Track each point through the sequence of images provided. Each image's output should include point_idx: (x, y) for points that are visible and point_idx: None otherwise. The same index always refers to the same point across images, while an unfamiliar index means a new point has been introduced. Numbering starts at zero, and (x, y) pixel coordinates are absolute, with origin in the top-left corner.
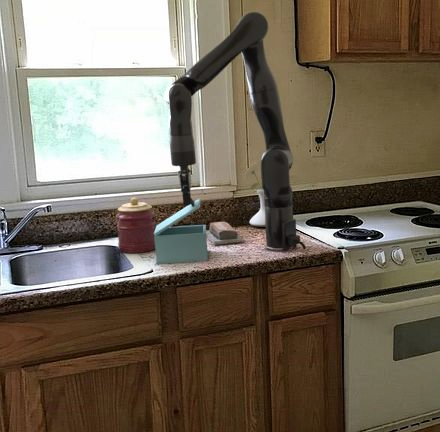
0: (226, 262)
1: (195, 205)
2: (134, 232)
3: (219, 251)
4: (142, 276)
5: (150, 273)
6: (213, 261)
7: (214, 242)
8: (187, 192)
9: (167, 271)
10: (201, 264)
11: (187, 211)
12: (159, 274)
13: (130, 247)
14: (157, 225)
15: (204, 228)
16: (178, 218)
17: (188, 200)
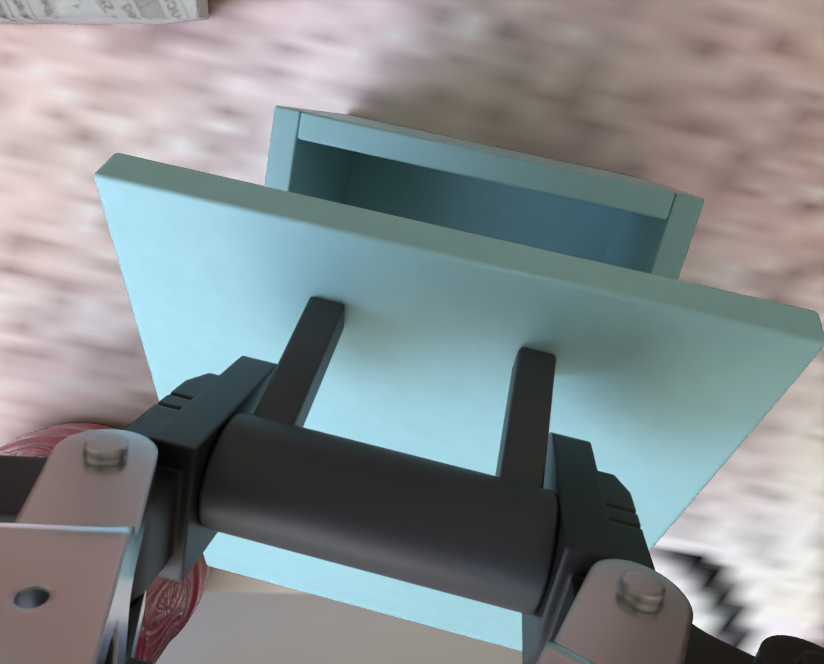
0: (784, 44)
1: (580, 344)
2: (146, 658)
3: (406, 22)
4: (781, 626)
5: (742, 577)
6: (690, 139)
7: (202, 17)
8: (709, 649)
9: (761, 483)
10: (722, 243)
11: (622, 455)
12: (802, 538)
13: (193, 610)
14: (234, 569)
15: (459, 160)
16: (653, 543)
17: (634, 515)
